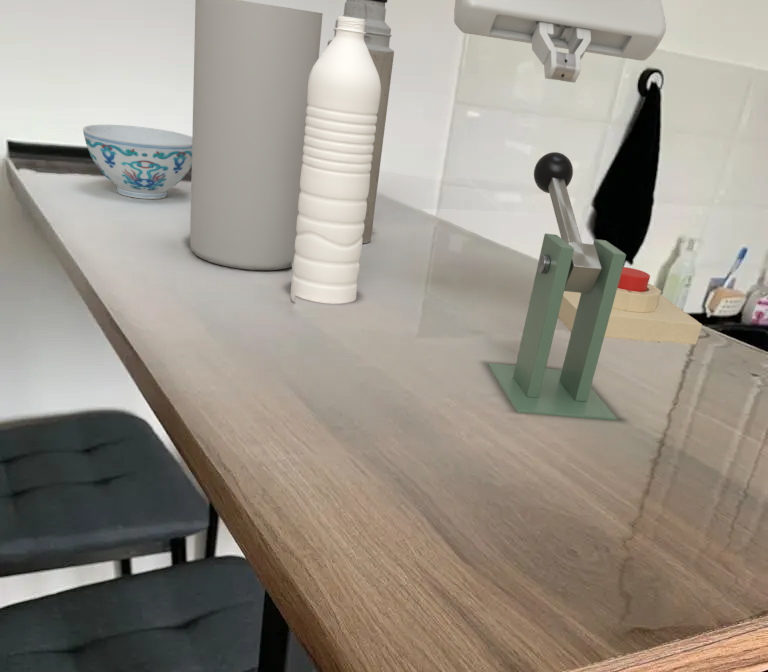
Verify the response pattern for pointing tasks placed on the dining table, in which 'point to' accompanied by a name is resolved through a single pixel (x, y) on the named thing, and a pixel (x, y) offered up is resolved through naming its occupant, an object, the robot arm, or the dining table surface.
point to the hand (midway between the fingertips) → (562, 76)
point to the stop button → (633, 280)
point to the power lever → (568, 221)
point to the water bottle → (336, 168)
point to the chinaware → (140, 158)
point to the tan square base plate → (640, 317)
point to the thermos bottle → (370, 6)
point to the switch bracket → (573, 383)
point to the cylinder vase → (249, 130)
